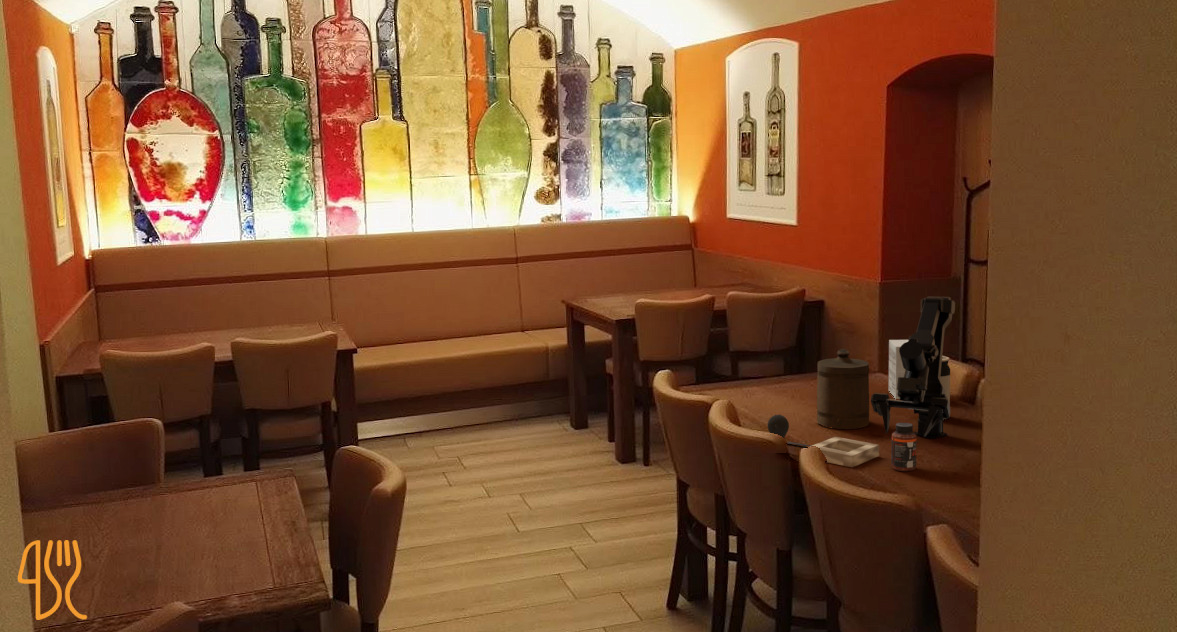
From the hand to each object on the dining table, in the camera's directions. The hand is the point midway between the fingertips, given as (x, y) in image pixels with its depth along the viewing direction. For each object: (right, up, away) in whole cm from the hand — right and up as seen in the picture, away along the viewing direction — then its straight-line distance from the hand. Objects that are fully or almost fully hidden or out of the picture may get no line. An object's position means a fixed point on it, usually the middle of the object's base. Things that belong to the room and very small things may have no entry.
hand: (904, 434), depth 254 cm
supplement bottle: (0, -9, +1) cm, 9 cm away
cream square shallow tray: (-12, -7, +12) cm, 19 cm away
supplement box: (+26, +3, +77) cm, 82 cm away
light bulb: (-28, -7, +19) cm, 35 cm away
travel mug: (+24, -1, +49) cm, 54 cm away
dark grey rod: (-20, -6, +22) cm, 31 cm away
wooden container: (-4, -2, +46) cm, 46 cm away
